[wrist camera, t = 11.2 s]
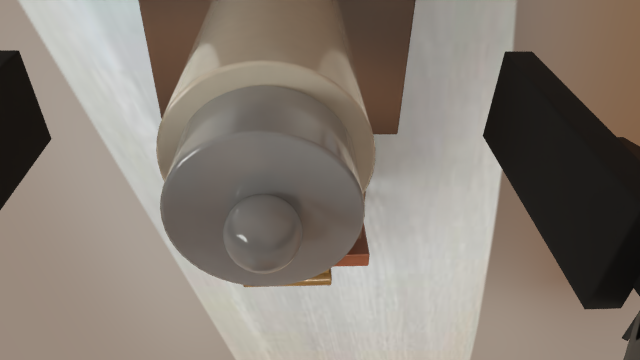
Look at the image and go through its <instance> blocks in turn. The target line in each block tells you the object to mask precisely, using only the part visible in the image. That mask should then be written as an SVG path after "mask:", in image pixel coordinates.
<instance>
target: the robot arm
mask: <svg viewBox="0 0 640 360" xmlns="http://www.w3.org/2000/svg"><path fill="white" fill-rule="evenodd" d="M483 137H484V139H485V140H486V142H487V144H488V145H489V147H490V149H491V151H492V152H493V154H494V156H495V157H496V159H497V161H498V162H499V164H500V166H501V168H502V169H503V171H504V173H505V174H506V176H507V178H508V179H509V181H510V183H511V185H512V186H513V188H514V190H515V191H516V193H517V194H518V196H519V198H520V200H521V202H522V203H523V205H524V207H525V208H526V210H527V212H528V214H529V215H530V217H531V219H532V220H533V222H534V223H535V225H536V227H537V229H538V231H539V232H540V234H541V236H542V237H543V239H544V241H545V242H546V244H547V246H548V248H549V249H550V251H551V253H552V254H553V256H554V258H555V259H556V261H557V263H558V264H559V266H560V268H561V270H562V271H563V273H564V275H565V277H566V278H567V280H568V282H569V283H570V285H571V287H572V288H573V290H574V292H575V294H576V295H577V297H578V299H579V300H580V302H581V304H582V305H583V307H584V309H611V308H621V307H622V306H623V304H624V302H625V301H626V299H627V298H628V296H629V294H630V293H631V291H632V290H633V288H634V289H635V290H636V292H637V293H638V295H639V296H640V146H638V145H636V144H634V143H633V142H630V141H629V140H627V139H626V138H624V137H616V136H615V135H614V134H613V133H612V132H611V131H610V130H609V129H608V128H607V127H606V126H605V125H604V124H603V123H602V122H601V121H600V120H599V119H598V118H597V117H596V116H595V115H594V114H593V113H592V112H591V111H590V110H589V109H588V108H587V107H586V106H585V105H584V104H583V103H582V102H581V101H580V100H579V99H578V98H577V97H576V96H575V95H574V94H573V93H572V92H571V91H570V90H569V89H568V88H567V87H566V86H565V85H564V84H563V83H562V81H561V80H559V78H557V76H556V75H555V74H554V73H553V72H552V71H551V70H550V69H549V68H548V67H547V66H546V65H545V64H544V63H543V62H542V61H541V60H540V59H539V58H538V57H537V56H536V55H535V54H534V53H533V52H505V54H504V58H503V62H502V65H501V69H500V73H499V77H498V81H497V84H496V88H495V92H494V96H493V99H492V103H491V107H490V111H489V114H488V118H487V122H486V126H485V130H484V133H483ZM50 140H51V136H50V134H49V131H48V129H47V126H46V123H45V120H44V118H43V115H42V112H41V109H40V107H39V104H38V101H37V99H36V96H35V93H34V90H33V88H32V85H31V82H30V79H29V77H28V74H27V72H26V69H25V66H24V63H23V61H22V58H21V55H20V52H19V51H0V210H1V208H2V207H3V206H4V204H5V203H6V201H7V200H8V199H9V197H10V196H11V194H12V193H13V192H14V190H15V189H16V187H17V186H18V185H19V183H20V182H21V181H22V179H23V178H24V176H25V175H26V173H27V172H28V171H29V169H30V168H31V166H32V165H33V164H34V162H35V161H36V160H37V158H38V157H39V155H40V154H41V153H42V151H43V150H44V149H45V147H46V145H47V144H48V143H49V142H50ZM622 338H623V339H624V340H627V341H628V340H629V339H630V340H629V343H628V346H627V350H626V353H625V357H624V360H640V311H639V313H638V314H637V316H636V317H635V319H634V320H633V322H632V323H631V325H630V326H629V328H628V329H627V331H626V332H625V334H624V335H623V337H622Z"/></svg>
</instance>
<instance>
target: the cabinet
mask: <svg viewBox="0 0 640 360" xmlns="http://www.w3.org/2000/svg"><path fill="white" fill-rule="evenodd" d="M211 2H212V0H139V6H140V11H141V16H142V21H143V26H144V31H145V36H146V41H147V46H148V52H149V57H150V62H151V67H152V72H153V77H154V82H155V87H156V92H157V98H158V103H159V108H160V113H161V118H163V115H164V113H165V111H166V108H167V106H168V104H169V101H170V99H171V97H172V94H173V92H174V89H175V87H176V85H177V82H178V80H179V78H180V75H181V73H182V71H183V68H184V66H185V63H186V61H187V59H188V56H189V54H190V52H191V49H192V47H193V45H194V42H195V40H196V37H197V35H198V33H199V30H200V28H201V26H202V23H203V21H204V19H205V16H206V14H207V11H208V9H209V7H210V4H211ZM338 2H339V6H340V10H341V13H342V17H343V21H344V25H345V29H346V33H347V36H348V40H349V44H350V48H351V52H352V56H353V60H354V63H355V67H356V71H357V75H358V79H359V83H360V86H361V90H362V94H363V98H364V102H365V106H366V109H367V113H368V117H369V121H370V125H371V129H372V133H373V134H397V133H398V125H399V118H400V111H401V103H402V96H403V88H404V81H405V74H406V66H407V59H408V52H409V44H410V37H411V30H412V22H413V15H414V8H415V0H338Z"/></svg>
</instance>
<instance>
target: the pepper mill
mask: <svg viewBox="0 0 640 360" xmlns="http://www.w3.org/2000/svg"><path fill="white" fill-rule="evenodd" d="M156 152H157V159H158V165H159V168H160V172H161V175H162V177H163V180H164V182H165V183H164V186H163V189H162V194H161V199H160V211H161V218H162V222H163V225H164V228H165V231H166V233H167V235H168V237H169V239H170V241H171V242H172V243H173V245H174V246H175V248H176V249H177V250H178V251H179V252H180V253H181V254H182V256H183V257H185V258H186V259H187V260H188V261H189V262H190V263H192V264H193V265H195V266H196V267H198V268H199V269H201V270H202V271H204V272H206V273H208V274H210V275H212V276H215V277H217V278H220V279H222V280H226V281H229V282H232V283H237V284H242V285H249V286H264V287H269V286H282V285H288V284H293V283H297V282H301V281H304V280H307V279H310V278H313V277H315V276H317V275H319V274H321V273H323V272H325V271H327V270H328V269H330V268H332V267H333V266H334V265H335V264H337V263H338V262H339V261H341V260H342V259H343V258H344V257H345V256H346V255H347V254H348V252H349V251H350V250H351V248H352V247H353V246H354V244H355V242H356V240H357V239H358V237H359V235H360V232H361V229H362V226H363V222H364V217H365V203H364V197H363V194H364V192H365V190H366V188H367V186H368V185H369V182H370V179H371V177H372V174H373V169H374V164H375V143H374V136H373V133H372V129H371V125H370V121H369V117H368V113H367V109H366V106H365V102H364V98H363V94H362V90H361V86H360V83H359V79H358V75H357V71H356V67H355V63H354V60H353V56H352V52H351V48H350V44H349V40H348V36H347V33H346V29H345V25H344V21H343V17H342V13H341V10H340V6H339V2H338V0H212V2H211V4H210V7H209V9H208V11H207V14H206V16H205V19H204V21H203V23H202V26H201V28H200V30H199V33H198V35H197V37H196V40H195V42H194V45H193V47H192V49H191V52H190V54H189V56H188V59H187V61H186V63H185V66H184V68H183V71H182V73H181V75H180V78H179V80H178V82H177V85H176V87H175V89H174V92H173V94H172V97H171V99H170V101H169V104H168V106H167V108H166V111H165V113H164V115H163V118H162V121H161V123H160V126H159V130H158V136H157V149H156Z"/></svg>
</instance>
